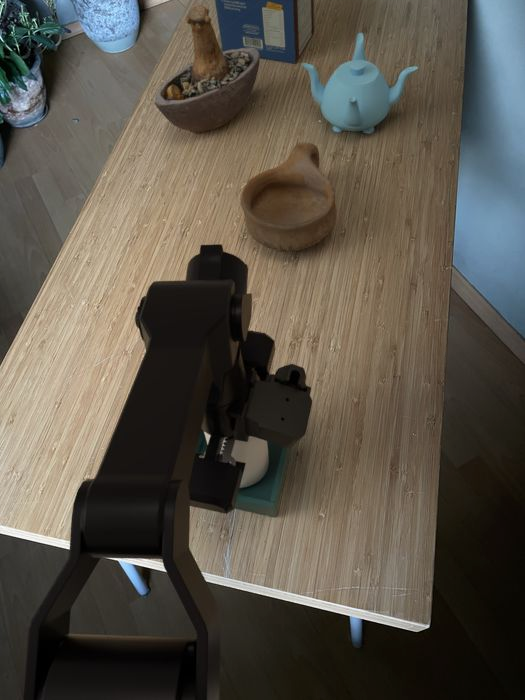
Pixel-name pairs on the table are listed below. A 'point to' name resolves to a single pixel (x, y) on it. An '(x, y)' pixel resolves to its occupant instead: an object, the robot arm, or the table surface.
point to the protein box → (266, 26)
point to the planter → (208, 80)
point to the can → (250, 458)
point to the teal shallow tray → (261, 481)
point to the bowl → (290, 202)
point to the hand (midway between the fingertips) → (235, 445)
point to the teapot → (356, 93)
